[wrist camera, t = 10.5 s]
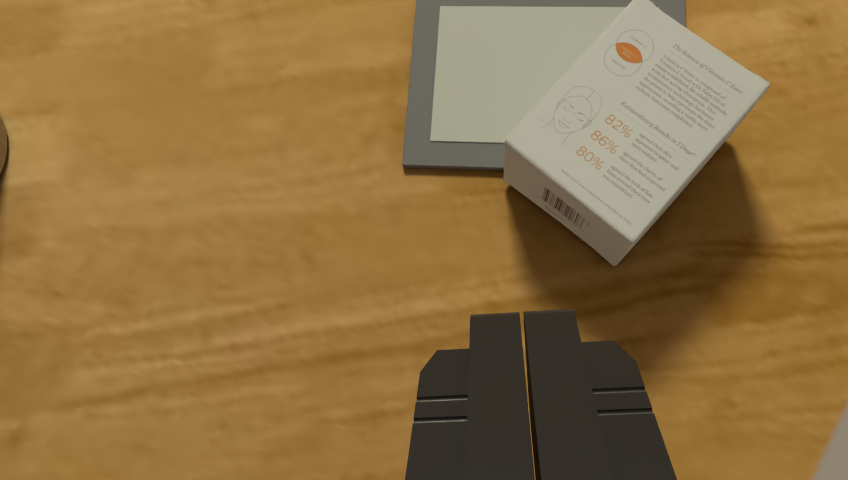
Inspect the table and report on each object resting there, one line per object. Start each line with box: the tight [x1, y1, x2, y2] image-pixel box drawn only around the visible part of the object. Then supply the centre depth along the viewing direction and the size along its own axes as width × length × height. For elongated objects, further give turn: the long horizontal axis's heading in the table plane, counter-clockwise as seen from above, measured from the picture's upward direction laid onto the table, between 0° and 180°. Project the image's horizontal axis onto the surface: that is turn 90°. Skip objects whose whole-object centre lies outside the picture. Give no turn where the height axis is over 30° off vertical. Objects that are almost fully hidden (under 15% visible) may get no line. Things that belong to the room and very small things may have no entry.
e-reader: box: [402, 0, 686, 170], centre depth 40 cm, size 16×12×1 cm
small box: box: [503, 0, 770, 266], centre depth 35 cm, size 8×6×10 cm
